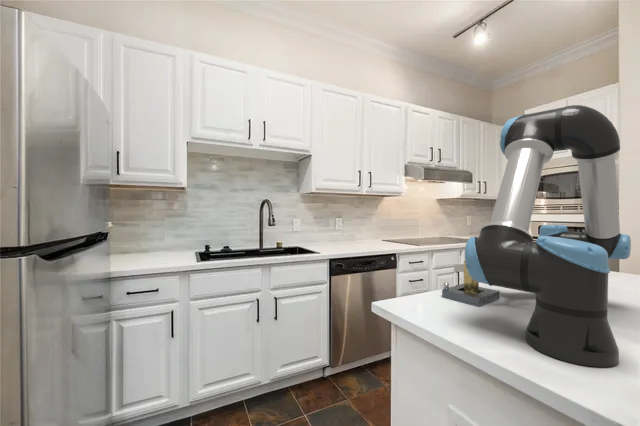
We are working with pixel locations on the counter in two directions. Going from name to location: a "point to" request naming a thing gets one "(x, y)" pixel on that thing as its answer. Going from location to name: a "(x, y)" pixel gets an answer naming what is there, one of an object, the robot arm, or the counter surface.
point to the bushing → (470, 282)
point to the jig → (470, 295)
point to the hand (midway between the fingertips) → (465, 271)
